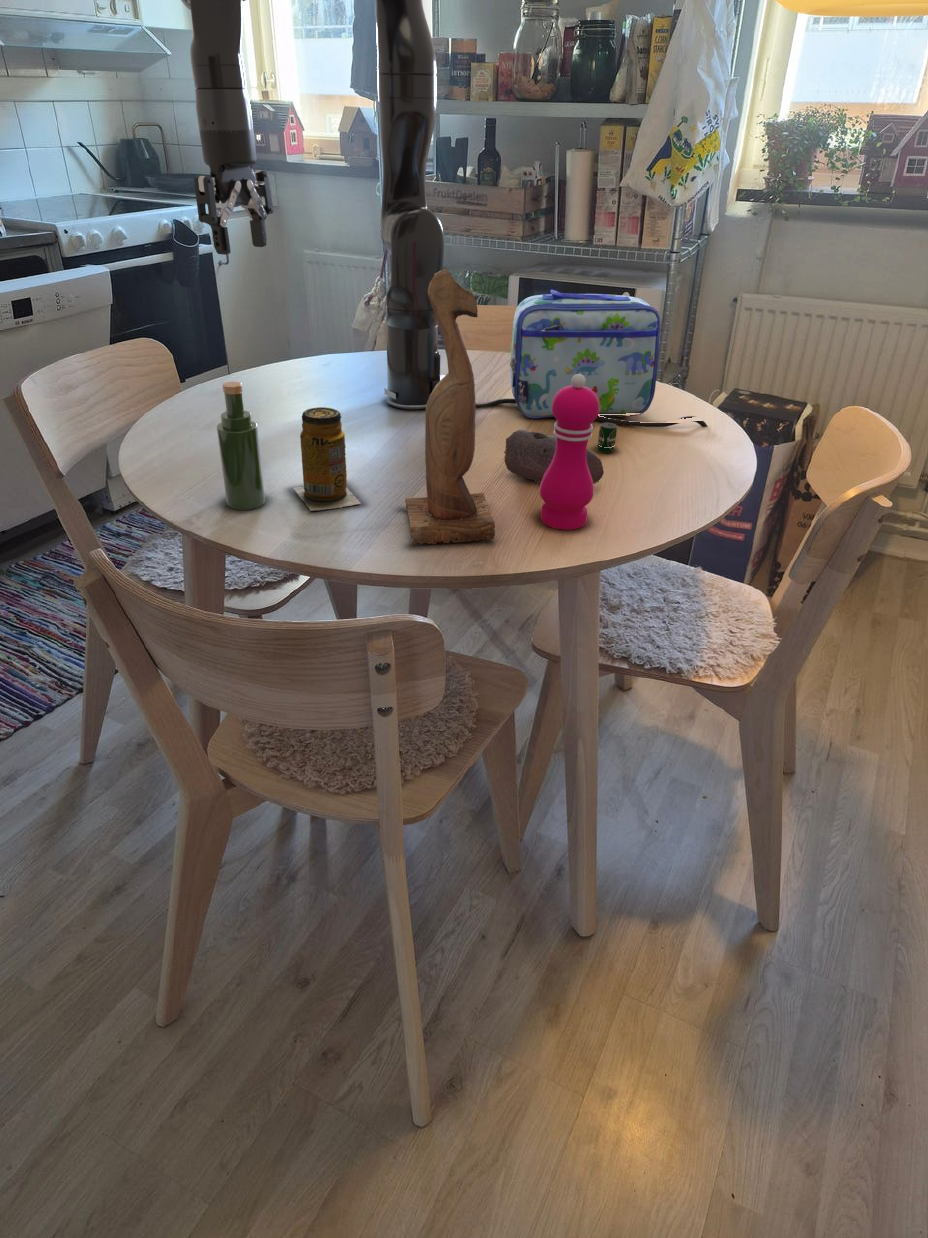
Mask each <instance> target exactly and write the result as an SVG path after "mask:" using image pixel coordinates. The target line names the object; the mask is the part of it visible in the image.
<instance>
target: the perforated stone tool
mask: <svg viewBox="0 0 928 1238" xmlns="http://www.w3.org/2000/svg"><path fill="white" fill-rule="evenodd" d="M555 450H556V436H555V435H549V434H545V433H542V432H537V431H530V430H526V429H518V430H515V431H513V432H512V433H511V434H510V435H509V436H508V437H507V438H506V439H505V450H504V451H503V454H504V463H505V467H506V469H507V470H508V471H509V472H510V473H512V474H514V475H516V476H520V477H521V478H522V477H523V478H525V479H528V480H533V481H537V482H541V481H542V478H543V476H544V474H545V472H546V470H547V469H548V467H549V465H550V463H551V461H552V459H553V457H554V454H555ZM586 459H587V465H588V468H589V471H590V474H591V477H592V480H593V485H594V484H597V483H599V482H600V480H601V479H603V476H604V475H605V471H604V465H603V462H602V460H601V458H600V457H599V456H598V455H597V454H595V453H594V452H593V451H591V450H590V449H588V448H587V449H586Z"/></svg>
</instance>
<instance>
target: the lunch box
mask: <svg viewBox="0 0 928 1238" xmlns="http://www.w3.org/2000/svg"><path fill="white" fill-rule="evenodd" d="M549 293H550V294H545V293H543V294H538V295H531V296H529V297H526V298H524V299H523V300H522V301H521V302H520V303H518V305H517V307H516V309H515V312H514V317H513V322H512V330H511V331H512V332H511V341H510V342H511V343H510V363H509V366H510V389H511V393H512V396H513V399H515V401H516V404H515V405H516V406H517V408H518V409H519V411H520V412H521V413H522V414H523V415H524V416H525V417H527V418H529V419H543V418H555V417H554V415H553V412H552V403H553V399H554V397H555V395H556V394H557V393H558V391H559V390H561V389H562V388H564V387H567V386H571V385H572V383H571V380H572V377H573V376H574V375H576V374H581V375H583V376H584V377H585V380H586V382H585V385H584V386H585V387H587V388H589V389H591V390H592V391H593V392H594V393H595V394H596V395H597V397H598V400H599V414H626V413H642V414H644V413H645V412H647V411H648V409H649V408H650V406H651V404H652V402H653V400H654V397H655V392H656V385H657V375H658V366H659V365H658V363H659V352H660V351H659V350H660V343H661V342H660V341H661V331H662V329H661V327H662V326H661V316H660V314H659V311H658V310H657V309H656V308H655V307H652V306H651V305H650V304H649V303H648V302H646V301H645V300H643V299H641V298H638V297H635V296H628V295H619V294H607V293H606V294H605V293H604V294H603V293H566V292H565V293H563V292H559V291H558V290H554V289H550V290H549ZM600 416H604V417H609V418H612V417H614V418H615V417H618V418H622V417H624V416H623V415H600ZM635 416H637V415H630V416H629V417H635Z"/></svg>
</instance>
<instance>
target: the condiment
mask: <svg viewBox="0 0 928 1238" xmlns="http://www.w3.org/2000/svg"><path fill="white" fill-rule="evenodd" d="M301 421H302V422H301V428H302V430H301V432H300V434H299V438H300V449H301V450H300V453H301V466H302V481H303V486H297V487H293V490H294V491H295V493H296V495H298V497H299V498H300V499H301V501H303V503H304V504H305V506H306V508H308V509H309V511H310V512H311V511H325V510H332V509H337V508H338V509H342V508H343V507H350V506H354V505H360V504H361V502H360V500H359V499H358V498H357V496H355V495H354V494H353V493H352V491H350V489H349V488H348V487H347V486H348V485H347V481H348V479H347V477H348V476H347V461H346V460H347V458H346V437H345V436H346V435H345V432H344V430H343V429H342V428H343V427H342V414H341V412H340V411H339V410H337V409H335V408H331V407H327V406H326V407H324V406H323V407H322V406H320V407H310V408H308V409H306V410H304V411H303V412H302V414H301Z"/></svg>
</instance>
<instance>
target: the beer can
mask: <svg viewBox="0 0 928 1238" xmlns="http://www.w3.org/2000/svg"><path fill="white" fill-rule="evenodd" d="M617 432H618V424H614V423H609V422H602V423H601V424H600V427H599V432H598V440H597V448H596V449H597V452H599V453H601V454H612V453H613V452H615V447H616V442H617V441H616V440H617ZM599 445H600V446H602V447H600V446H599ZM614 445H615V446H614ZM612 446H614V447H612ZM604 447H612V448H604Z"/></svg>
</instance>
